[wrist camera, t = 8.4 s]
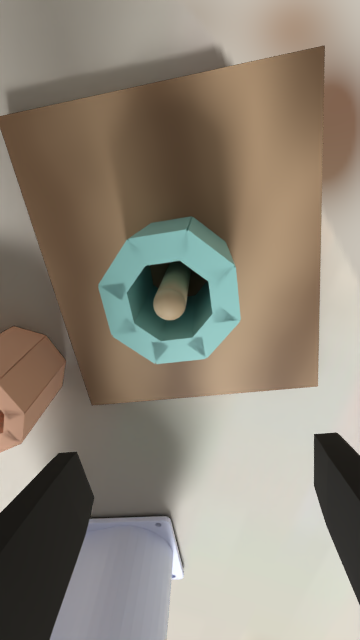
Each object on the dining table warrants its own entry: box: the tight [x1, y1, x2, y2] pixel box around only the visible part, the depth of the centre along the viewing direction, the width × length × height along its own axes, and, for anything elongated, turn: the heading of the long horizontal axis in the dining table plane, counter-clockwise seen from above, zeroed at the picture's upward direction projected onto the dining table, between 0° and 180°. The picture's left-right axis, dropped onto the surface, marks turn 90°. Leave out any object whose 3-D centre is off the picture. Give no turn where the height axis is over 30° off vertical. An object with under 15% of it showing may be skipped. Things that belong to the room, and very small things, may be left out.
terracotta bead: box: [0, 326, 66, 452], centre depth 18 cm, size 5×5×5 cm
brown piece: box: [0, 46, 325, 405], centre depth 14 cm, size 14×16×7 cm
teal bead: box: [98, 216, 241, 364], centre depth 14 cm, size 5×5×5 cm
